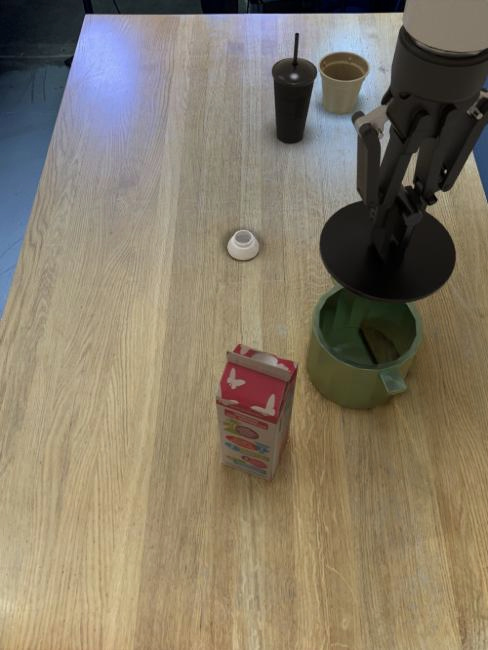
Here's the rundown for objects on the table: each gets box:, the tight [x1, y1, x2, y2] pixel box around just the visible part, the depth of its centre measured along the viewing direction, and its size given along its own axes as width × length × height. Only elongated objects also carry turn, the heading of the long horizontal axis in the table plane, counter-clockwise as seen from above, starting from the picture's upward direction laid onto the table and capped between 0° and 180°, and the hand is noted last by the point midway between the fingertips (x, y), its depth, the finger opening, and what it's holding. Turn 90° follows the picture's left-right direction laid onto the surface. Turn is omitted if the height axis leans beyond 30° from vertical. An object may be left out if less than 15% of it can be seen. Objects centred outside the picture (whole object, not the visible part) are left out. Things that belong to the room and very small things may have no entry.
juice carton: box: [214, 343, 299, 483], centre depth 68 cm, size 7×7×22 cm
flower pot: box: [317, 50, 371, 115], centre depth 113 cm, size 9×9×9 cm
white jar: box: [226, 229, 260, 261], centre depth 95 cm, size 5×3×5 cm
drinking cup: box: [271, 32, 318, 145], centre depth 103 cm, size 8×8×20 cm
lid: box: [318, 182, 457, 304], centre depth 63 cm, size 15×15×9 cm
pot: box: [305, 274, 424, 410], centre depth 80 cm, size 14×19×10 cm
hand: (389, 241), depth 65 cm, fingers closed on lid, 2 cm apart
